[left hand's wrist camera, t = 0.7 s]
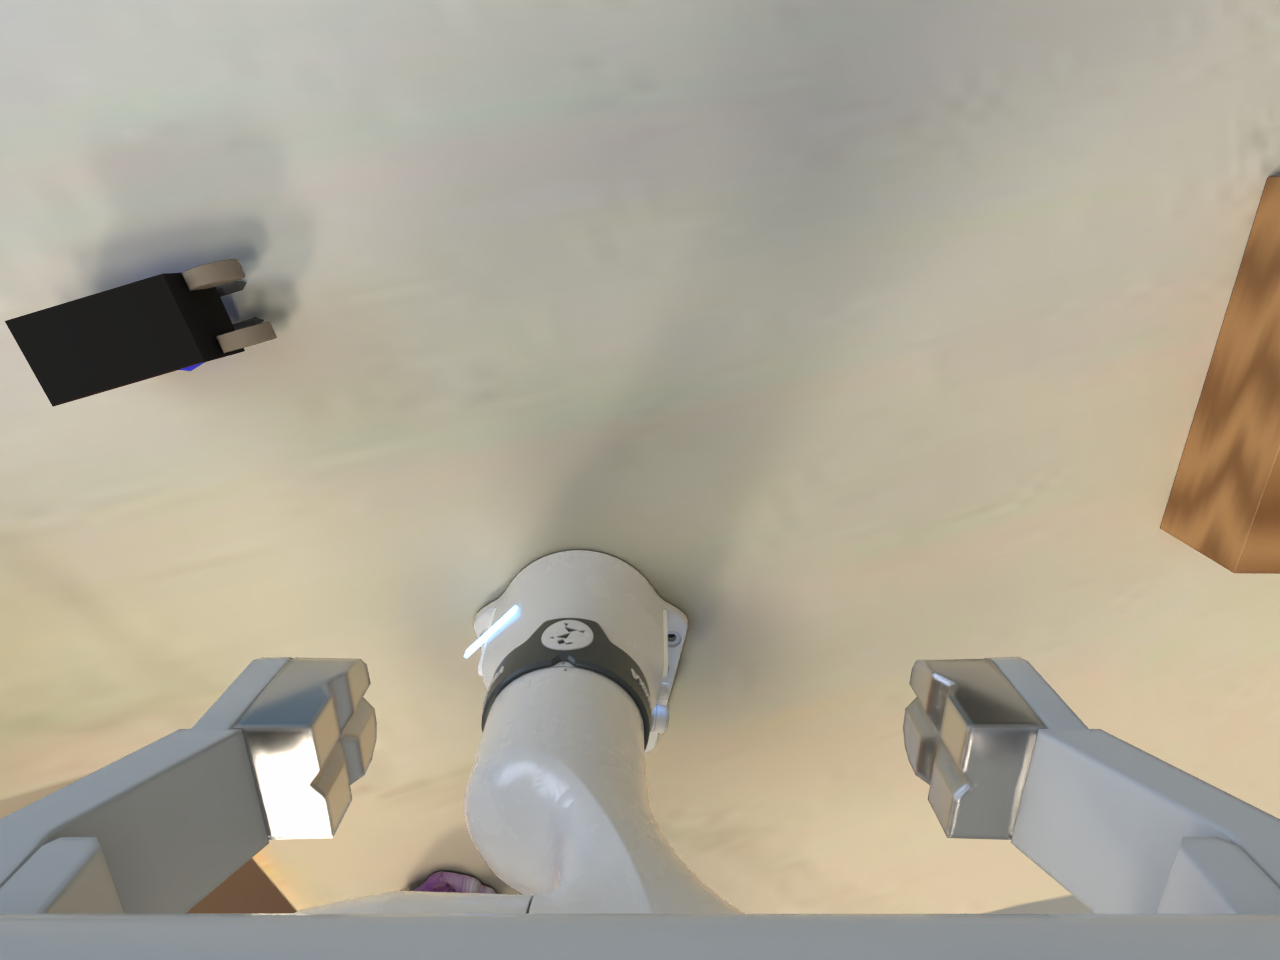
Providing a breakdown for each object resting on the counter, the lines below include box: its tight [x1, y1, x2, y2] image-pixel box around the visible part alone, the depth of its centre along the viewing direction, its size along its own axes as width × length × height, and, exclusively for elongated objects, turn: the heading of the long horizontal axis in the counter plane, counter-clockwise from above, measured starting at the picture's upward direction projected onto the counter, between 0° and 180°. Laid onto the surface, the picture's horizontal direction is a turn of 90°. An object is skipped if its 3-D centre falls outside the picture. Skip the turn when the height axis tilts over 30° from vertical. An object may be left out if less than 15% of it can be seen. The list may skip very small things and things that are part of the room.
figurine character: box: [5, 259, 277, 406], centre depth 49 cm, size 7×8×15 cm
